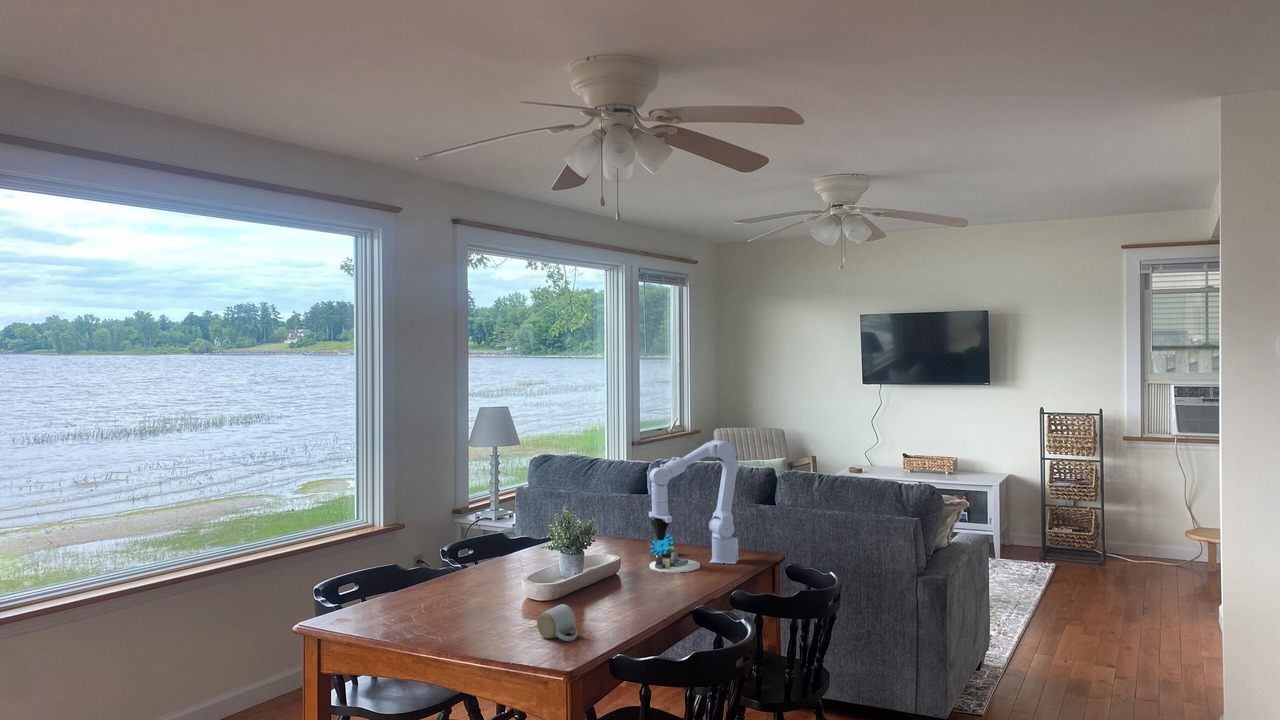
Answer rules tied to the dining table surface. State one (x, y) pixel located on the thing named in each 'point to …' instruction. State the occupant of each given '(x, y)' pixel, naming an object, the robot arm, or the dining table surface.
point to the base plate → (671, 569)
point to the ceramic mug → (557, 623)
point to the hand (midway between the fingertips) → (660, 540)
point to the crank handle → (661, 563)
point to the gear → (663, 546)
